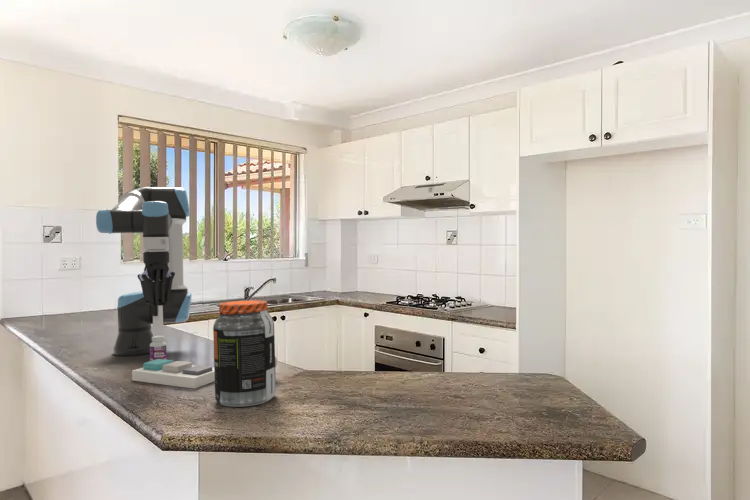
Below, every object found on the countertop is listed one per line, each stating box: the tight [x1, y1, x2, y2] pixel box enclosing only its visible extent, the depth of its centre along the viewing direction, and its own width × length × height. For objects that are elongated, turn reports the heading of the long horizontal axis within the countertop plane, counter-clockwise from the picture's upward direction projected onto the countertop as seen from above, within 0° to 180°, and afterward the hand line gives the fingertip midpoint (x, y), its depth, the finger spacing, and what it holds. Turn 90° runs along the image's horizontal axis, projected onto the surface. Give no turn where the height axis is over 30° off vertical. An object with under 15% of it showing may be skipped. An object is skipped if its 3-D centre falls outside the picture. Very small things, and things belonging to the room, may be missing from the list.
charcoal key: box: [182, 364, 213, 375], centre depth 154 cm, size 6×6×3 cm
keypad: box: [131, 364, 215, 389], centre depth 158 cm, size 12×25×3 cm, turn 66°
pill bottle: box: [149, 335, 168, 361], centre depth 178 cm, size 5×5×10 cm
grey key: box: [163, 360, 193, 373], centre depth 158 cm, size 6×6×3 cm
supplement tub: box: [212, 299, 277, 408], centre depth 136 cm, size 16×16×26 cm
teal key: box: [142, 359, 174, 371], centre depth 161 cm, size 6×6×3 cm
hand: (158, 326), depth 161 cm, fingers closed
